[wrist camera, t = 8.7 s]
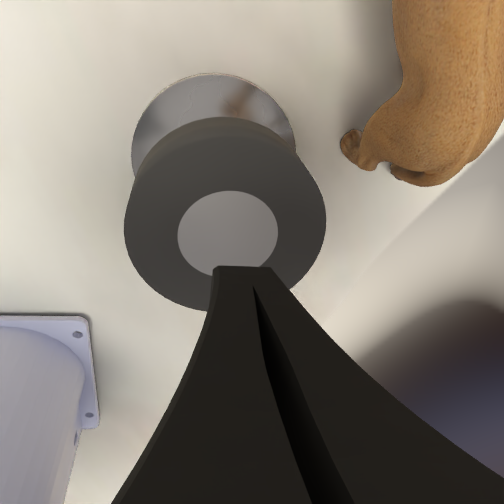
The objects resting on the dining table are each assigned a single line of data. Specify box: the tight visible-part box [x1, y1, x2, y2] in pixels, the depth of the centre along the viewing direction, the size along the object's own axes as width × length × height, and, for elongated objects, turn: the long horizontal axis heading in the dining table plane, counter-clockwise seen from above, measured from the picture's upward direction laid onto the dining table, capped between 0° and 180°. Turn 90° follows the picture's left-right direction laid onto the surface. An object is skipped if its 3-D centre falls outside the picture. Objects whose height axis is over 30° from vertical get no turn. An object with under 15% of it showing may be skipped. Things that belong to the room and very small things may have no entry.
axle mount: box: [131, 73, 296, 177], centre depth 16 cm, size 7×7×2 cm
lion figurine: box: [341, 0, 504, 187], centre depth 11 cm, size 15×5×9 cm, turn 20°
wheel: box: [124, 117, 326, 311], centre depth 12 cm, size 6×6×2 cm
